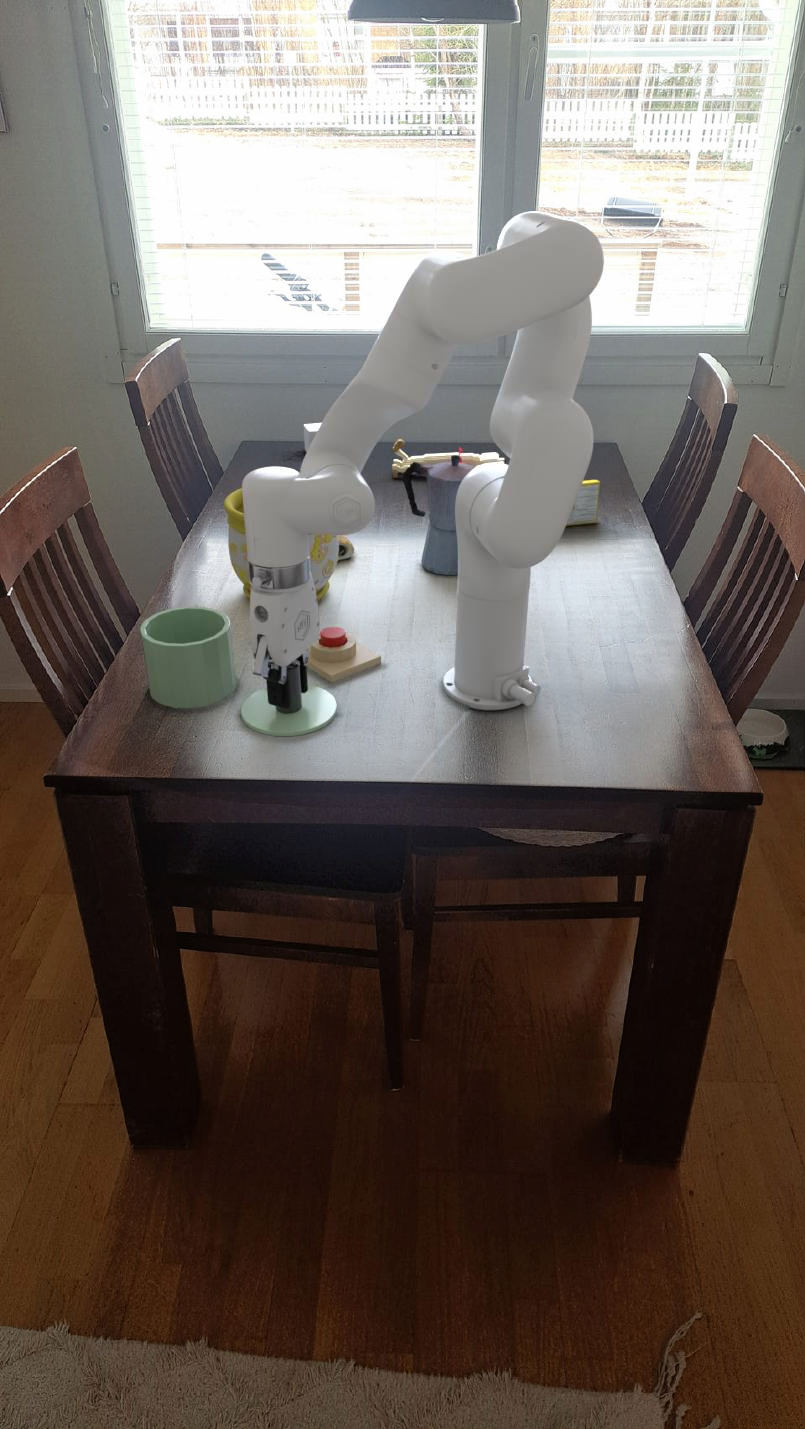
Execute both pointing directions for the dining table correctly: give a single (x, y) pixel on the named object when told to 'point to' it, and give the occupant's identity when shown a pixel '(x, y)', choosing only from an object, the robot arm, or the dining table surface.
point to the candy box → (585, 504)
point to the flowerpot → (320, 548)
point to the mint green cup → (188, 656)
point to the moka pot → (439, 512)
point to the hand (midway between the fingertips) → (288, 696)
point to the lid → (290, 708)
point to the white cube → (310, 433)
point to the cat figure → (440, 459)
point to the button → (333, 637)
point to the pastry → (345, 548)
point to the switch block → (340, 659)
